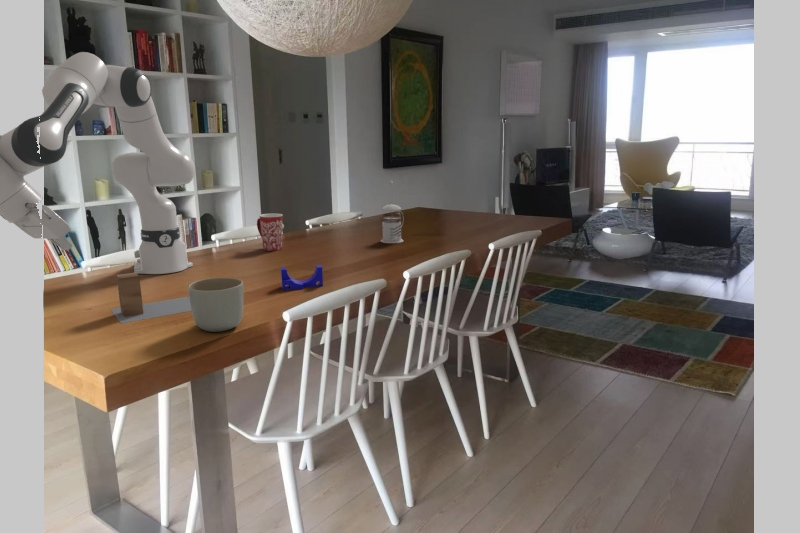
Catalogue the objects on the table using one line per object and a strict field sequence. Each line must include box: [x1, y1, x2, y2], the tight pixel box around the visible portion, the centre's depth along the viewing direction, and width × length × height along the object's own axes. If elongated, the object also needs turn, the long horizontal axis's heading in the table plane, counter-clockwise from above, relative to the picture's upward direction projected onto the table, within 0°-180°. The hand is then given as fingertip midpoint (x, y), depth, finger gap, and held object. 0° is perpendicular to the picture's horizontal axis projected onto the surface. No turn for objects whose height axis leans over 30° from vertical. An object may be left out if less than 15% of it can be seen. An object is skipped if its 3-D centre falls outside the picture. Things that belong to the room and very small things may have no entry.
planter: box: [187, 276, 244, 333], centre depth 140 cm, size 12×12×11 cm
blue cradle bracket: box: [280, 264, 324, 291], centre depth 175 cm, size 12×4×6 cm, turn 105°
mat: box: [110, 295, 192, 324], centre depth 155 cm, size 14×22×1 cm, turn 125°
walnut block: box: [116, 272, 144, 317], centre depth 150 cm, size 4×4×10 cm
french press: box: [380, 180, 405, 244], centre depth 243 cm, size 10×12×25 cm
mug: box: [256, 212, 284, 252], centre depth 230 cm, size 13×9×14 cm
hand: (68, 248), depth 140 cm, fingers closed
